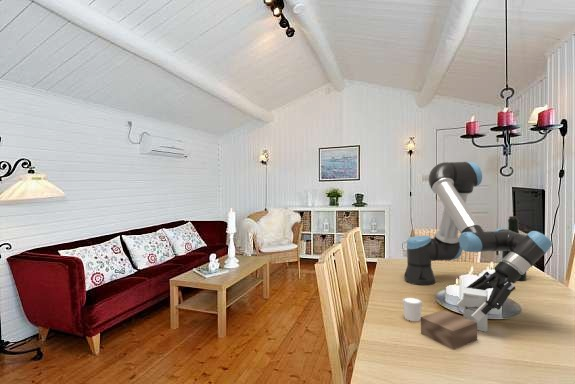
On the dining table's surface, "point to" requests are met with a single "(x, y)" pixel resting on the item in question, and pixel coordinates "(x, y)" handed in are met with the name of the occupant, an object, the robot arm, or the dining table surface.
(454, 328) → the walnut block
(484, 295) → the supplement box
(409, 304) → the white cylinder
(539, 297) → the dining table surface
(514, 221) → the dark green bottle
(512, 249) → the robot arm
